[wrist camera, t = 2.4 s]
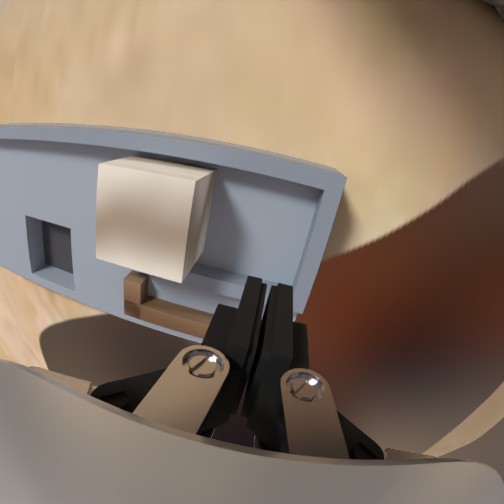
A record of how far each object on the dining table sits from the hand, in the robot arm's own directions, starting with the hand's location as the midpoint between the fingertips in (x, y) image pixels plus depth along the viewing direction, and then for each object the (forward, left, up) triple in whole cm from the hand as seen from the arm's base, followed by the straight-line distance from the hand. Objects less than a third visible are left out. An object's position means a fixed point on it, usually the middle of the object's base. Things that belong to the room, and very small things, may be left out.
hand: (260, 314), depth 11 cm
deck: (+3, -12, -11) cm, 17 cm away
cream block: (-1, -7, -9) cm, 11 cm away
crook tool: (+8, -5, -9) cm, 12 cm away
